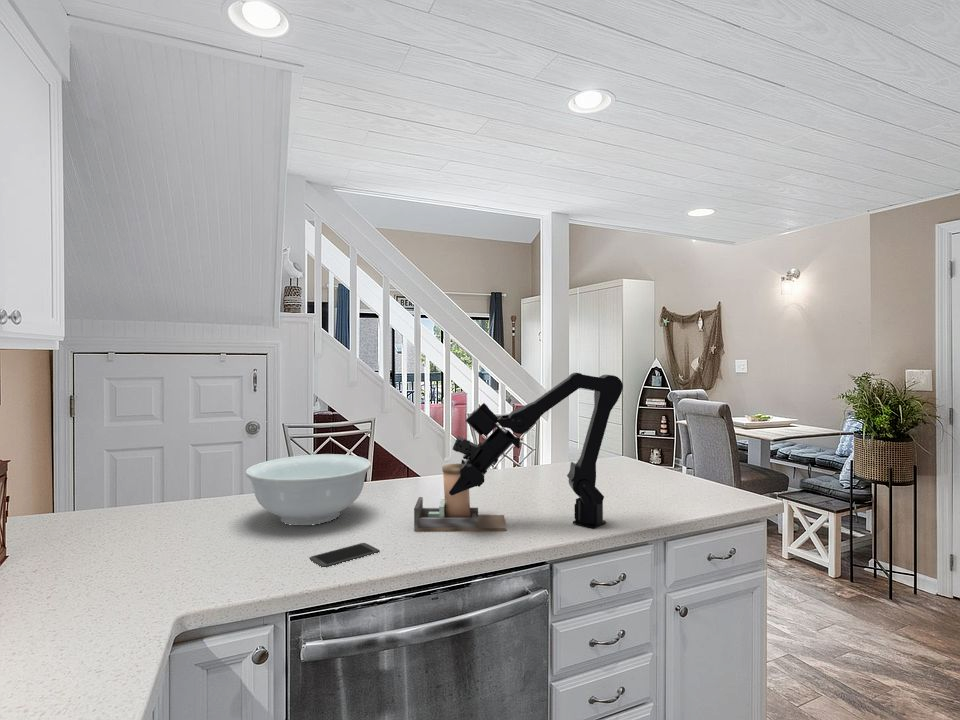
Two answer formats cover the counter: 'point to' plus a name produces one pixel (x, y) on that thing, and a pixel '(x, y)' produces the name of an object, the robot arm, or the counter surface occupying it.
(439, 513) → the block
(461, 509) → the jar
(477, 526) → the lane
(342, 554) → the cell phone
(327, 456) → the bowl
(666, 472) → the counter surface
